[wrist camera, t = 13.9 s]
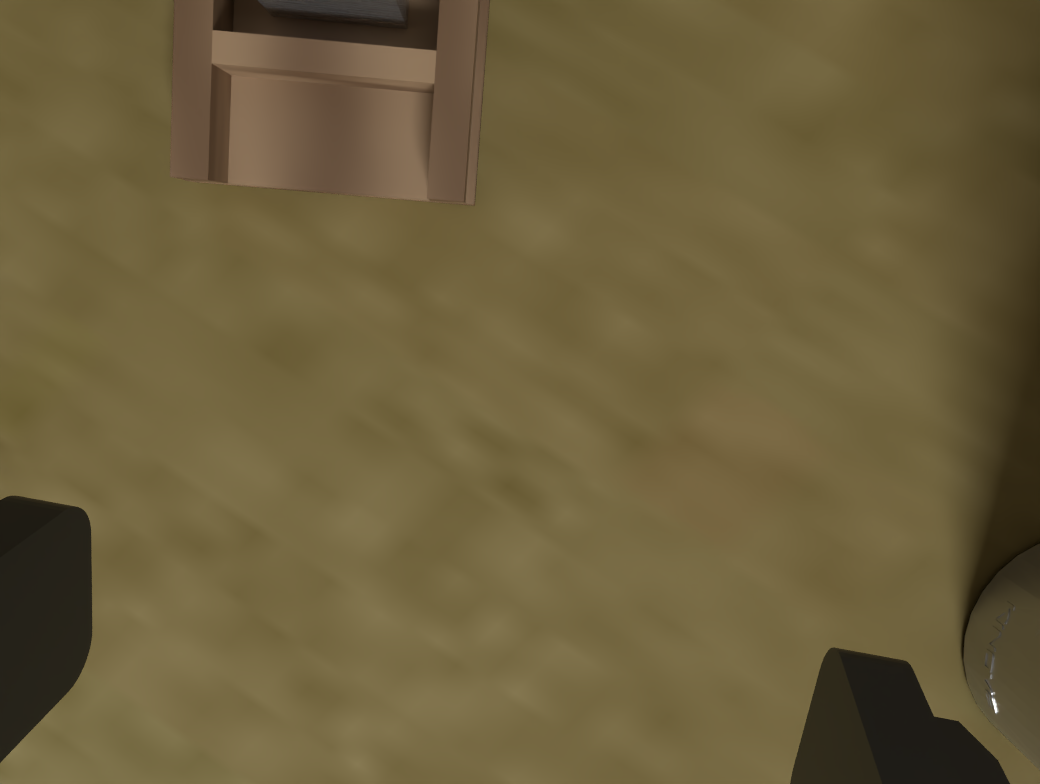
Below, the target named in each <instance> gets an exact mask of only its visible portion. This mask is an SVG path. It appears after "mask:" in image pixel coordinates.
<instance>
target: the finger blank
mask: <svg viewBox="0 0 1040 784" xmlns="http://www.w3.org/2000/svg"><path fill="white" fill-rule="evenodd" d="M258 1H259V2H260V3H261V4H262V5H263V6H264V7H265V8H266V9H267V10H268V11H269V13H270V14H271V15H272V16H277V17H287V18H298V19H308V20H318V21H328V22H338V23H348V24H359V25H369V26H379V27H389V28H399V29H407V24H408V9H409V0H258Z"/></svg>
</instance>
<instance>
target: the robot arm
mask: <svg viewBox="0 0 1040 784" xmlns="http://www.w3.org/2000/svg"><path fill="white" fill-rule="evenodd" d="M91 638H92V570H91V526H90V521H89V518H88V516H87V514H86V512H85V511H84V510H83V509H81V508H79V507H75V506H69V505H64V504H58V503H53V502H47V501H42V500H37V499H31V498H26V497H20V496H9V497H6V498H4V499H2V500H0V762H1V761H2V760H3V759H4V758H5V757H6V756H7V755H8V754H9V753H10V752H11V751H12V750H13V749H14V748H15V747H16V746H17V745H18V744H19V743H20V741H21V740H22V739H23V738H24V737H25V736H26V735H27V734H28V733H29V732H30V731H31V730H32V729H33V728H34V727H35V726H36V725H37V724H38V723H39V722H40V721H41V720H42V719H43V718H44V716H45V715H46V714H47V713H48V712H49V711H50V710H51V709H52V708H53V707H54V706H55V705H56V704H57V703H58V702H59V701H60V700H61V699H62V698H63V697H64V696H65V695H66V694H67V692H68V691H69V690H70V689H71V688H72V687H73V685H74V684H75V682H76V681H77V679H78V677H79V675H80V674H81V671H82V669H83V667H84V665H85V662H86V659H87V656H88V653H89V649H90V645H91ZM963 661H964V666H965V672H966V678H967V683H968V685H969V688H970V690H971V692H972V695H973V697H974V700H975V702H976V704H977V705H978V706H979V708H980V709H981V710H982V712H983V713H984V715H985V716H986V717H987V719H988V720H989V721H990V722H991V723H992V724H993V725H994V726H995V727H996V728H997V729H998V730H999V731H1000V732H1001V733H1002V734H1003V735H1004V736H1005V737H1006V738H1007V739H1008V740H1009V741H1010V742H1011V743H1012V744H1013V745H1015V746H1016V747H1017V748H1018V749H1019V750H1020V751H1021V752H1022V753H1023V754H1024V755H1025V756H1026V757H1027V758H1028V759H1029V760H1030V761H1031V762H1032V763H1033V764H1034V765H1035V766H1036V767H1037V768H1038V769H1039V770H1040V543H1039V544H1037V545H1035V546H1034V547H1032V548H1030V549H1028V550H1027V551H1025V552H1023V553H1021V554H1020V555H1018V556H1016V557H1015V558H1014V559H1013V560H1012V561H1011V562H1009V563H1008V564H1007V565H1006V566H1005V567H1004V568H1002V569H1001V570H1000V571H999V572H998V573H997V574H996V575H995V577H994V578H993V579H992V580H991V582H990V583H989V584H988V585H987V587H986V588H985V589H984V590H983V592H982V593H981V595H980V597H979V599H978V601H977V603H976V605H975V607H974V609H973V611H972V613H971V616H970V619H969V623H968V627H967V630H966V634H965V640H964V659H963ZM790 784H1010V783H1009V781H1008V779H1007V777H1006V775H1005V773H1004V771H1003V769H1002V768H1001V766H1000V764H999V762H998V760H997V759H996V758H995V757H994V756H993V755H992V754H991V753H990V752H989V751H988V750H987V749H986V748H985V747H984V746H983V745H982V744H981V743H980V742H979V741H978V740H977V739H976V738H975V737H974V736H973V735H972V734H971V733H970V732H969V731H968V730H967V729H966V728H965V727H964V726H963V725H962V724H961V723H960V722H959V721H954V720H949V719H944V718H938V717H934V716H933V714H932V711H931V709H930V707H929V705H928V702H927V700H926V698H925V696H924V693H923V691H922V689H921V687H920V684H919V682H918V680H917V678H916V675H915V673H914V671H913V669H912V667H911V665H910V664H909V663H908V662H907V661H904V660H899V659H893V658H888V657H882V656H877V655H871V654H866V653H861V652H855V651H850V650H844V649H839V648H831V649H829V650H828V652H827V653H826V655H825V657H824V659H823V662H822V665H821V668H820V671H819V675H818V679H817V682H816V686H815V690H814V693H813V697H812V701H811V705H810V708H809V712H808V716H807V719H806V723H805V727H804V731H803V734H802V738H801V742H800V745H799V749H798V753H797V757H796V760H795V764H794V768H793V772H792V777H791V783H790Z"/></svg>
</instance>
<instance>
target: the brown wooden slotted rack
mask: <svg viewBox="0 0 1040 784" xmlns="http://www.w3.org/2000/svg"><path fill="white" fill-rule="evenodd" d="M489 4H490V0H409V9H408V24H407V29H399V28H389V27H379V26H369V25H359V24H348V23H338V22H328V21H318V20H308V19H298V18H287V17H277V16H272V15H271V14H270V13H269V11H268V10H267V9H266V8H265V7H264V6H263V5H262V4H261V3H260V2H259V1H258V0H174V36H173V77H172V118H171V159H170V177H174V178H180V179H184V180H187V181H192V182H202V183H214V184H226V185H237V186H249V187H261V188H273V189H285V190H296V191H308V192H320V193H332V194H344V195H355V196H367V197H379V198H391V199H403V200H415V201H426V202H438V203H450V204H462V205H474V206H475V194H476V180H477V167H478V153H479V140H480V126H481V113H482V99H483V85H484V72H485V58H486V45H487V31H488V17H489Z"/></svg>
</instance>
